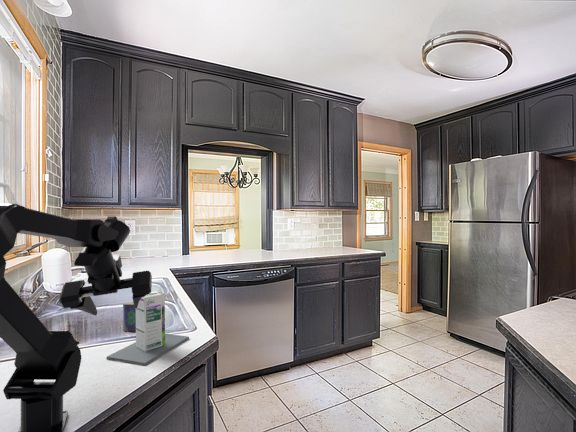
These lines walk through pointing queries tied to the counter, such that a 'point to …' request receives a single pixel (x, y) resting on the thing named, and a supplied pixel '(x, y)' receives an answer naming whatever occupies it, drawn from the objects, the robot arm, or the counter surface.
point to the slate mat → (141, 357)
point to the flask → (129, 317)
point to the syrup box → (150, 321)
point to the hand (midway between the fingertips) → (116, 310)
